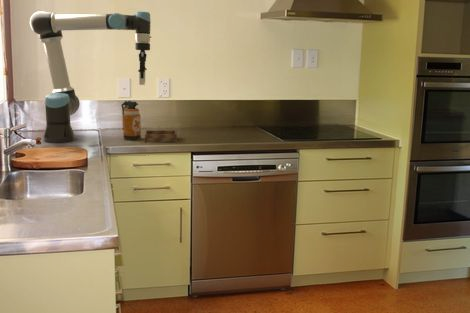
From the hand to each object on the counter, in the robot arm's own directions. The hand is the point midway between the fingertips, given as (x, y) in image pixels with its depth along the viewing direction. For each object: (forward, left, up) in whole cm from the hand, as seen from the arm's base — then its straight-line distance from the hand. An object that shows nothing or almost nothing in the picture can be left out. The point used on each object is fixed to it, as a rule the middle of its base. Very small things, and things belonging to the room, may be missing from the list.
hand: (142, 83), depth 287 cm
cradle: (+10, -10, -29) cm, 32 cm away
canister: (-6, -6, -29) cm, 30 cm away
